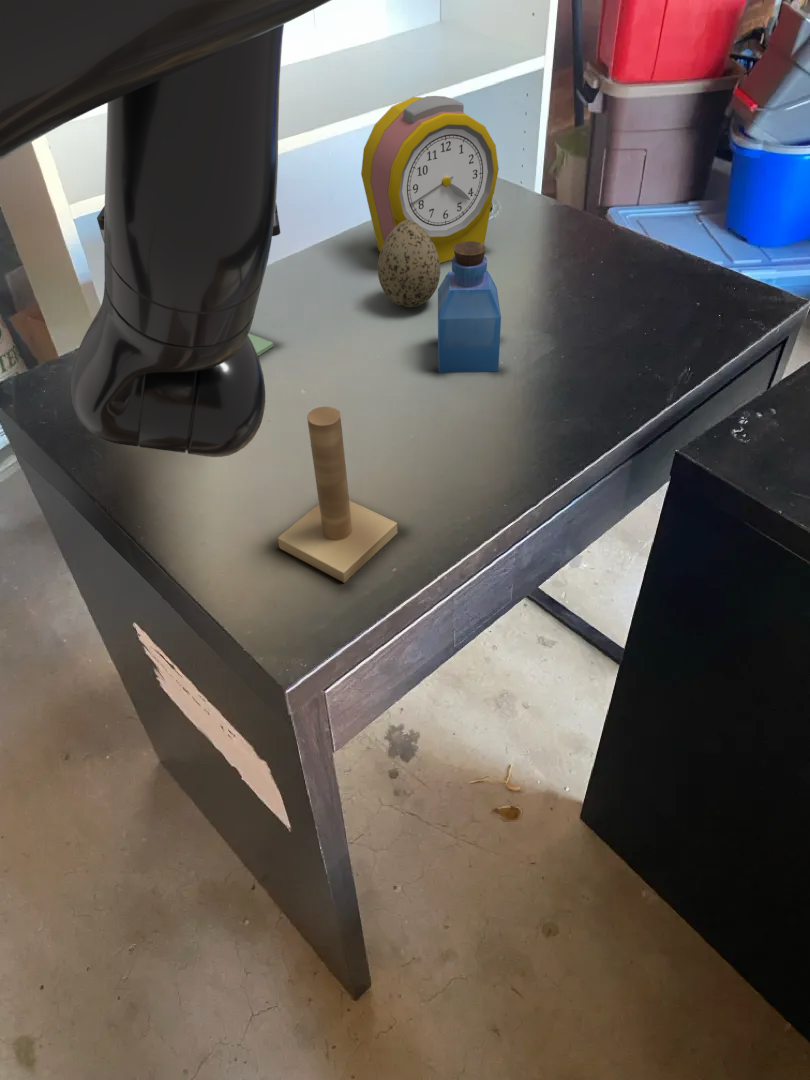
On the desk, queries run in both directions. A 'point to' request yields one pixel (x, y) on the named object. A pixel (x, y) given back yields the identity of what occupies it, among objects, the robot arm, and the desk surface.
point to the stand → (334, 509)
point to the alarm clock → (430, 172)
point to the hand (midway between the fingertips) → (195, 180)
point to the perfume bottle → (468, 314)
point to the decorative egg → (408, 265)
